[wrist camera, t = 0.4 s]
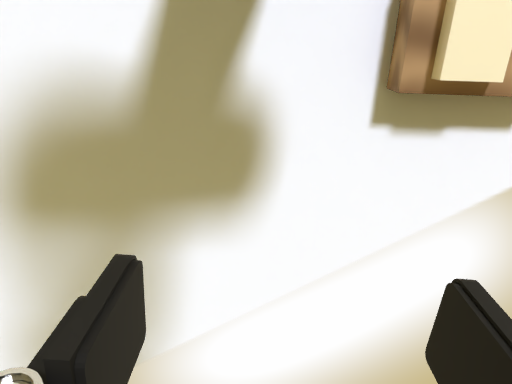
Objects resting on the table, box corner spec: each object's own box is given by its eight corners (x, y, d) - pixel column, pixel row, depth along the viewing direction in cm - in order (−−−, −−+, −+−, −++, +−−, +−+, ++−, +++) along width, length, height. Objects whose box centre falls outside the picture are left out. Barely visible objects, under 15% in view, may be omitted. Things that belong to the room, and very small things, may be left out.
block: (451, -24, 34) (462, -28, 32) (517, -22, 34) (531, -26, 32) (431, 78, 37) (440, 80, 35) (490, 80, 37) (502, 82, 35)
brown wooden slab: (406, -36, 37) (422, -44, 33) (566, -31, 37) (600, -39, 33) (386, 88, 42) (398, 92, 38) (529, 93, 41) (555, 97, 38)
